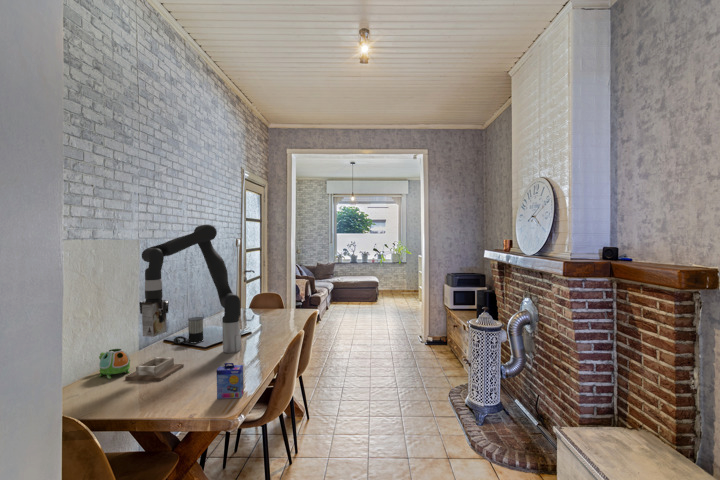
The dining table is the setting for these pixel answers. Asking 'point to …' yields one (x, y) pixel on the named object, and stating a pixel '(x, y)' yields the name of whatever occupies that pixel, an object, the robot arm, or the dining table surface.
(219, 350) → the dining table surface
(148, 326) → the coffee box
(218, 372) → the ink cartridge box
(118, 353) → the turtle holder
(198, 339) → the milk frother
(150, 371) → the frame
